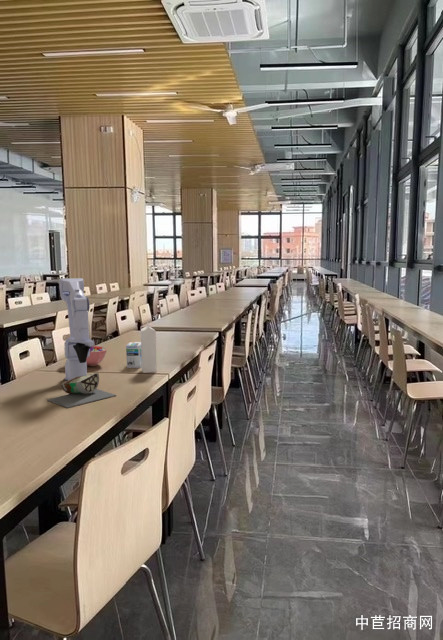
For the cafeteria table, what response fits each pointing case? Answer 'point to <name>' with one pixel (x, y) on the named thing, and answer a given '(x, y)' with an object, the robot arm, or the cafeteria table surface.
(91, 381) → the food container
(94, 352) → the cell model
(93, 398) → the mat
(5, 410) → the cafeteria table surface
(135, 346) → the light bulb box
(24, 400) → the cafeteria table surface
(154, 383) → the cafeteria table surface
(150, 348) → the milk
